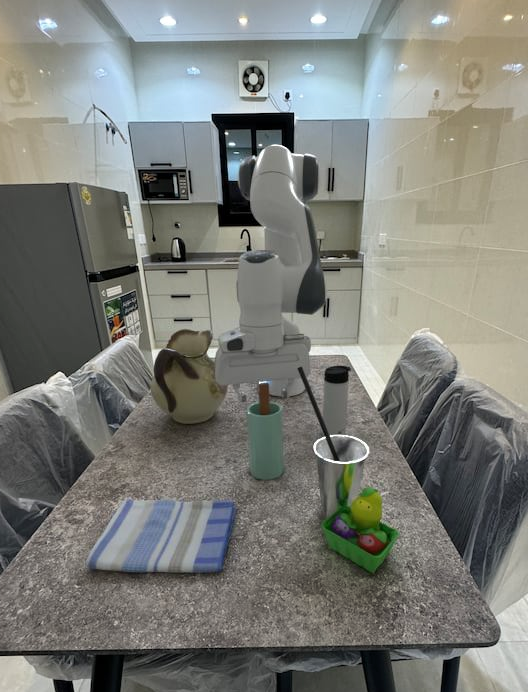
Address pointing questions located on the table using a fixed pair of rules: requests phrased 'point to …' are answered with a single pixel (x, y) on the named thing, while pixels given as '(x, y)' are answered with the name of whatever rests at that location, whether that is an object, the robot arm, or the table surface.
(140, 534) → the dish towel
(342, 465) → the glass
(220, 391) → the pitcher
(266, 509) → the table surface
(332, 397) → the travel mug
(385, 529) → the fruit basket
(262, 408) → the bottle brush
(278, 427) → the vase
